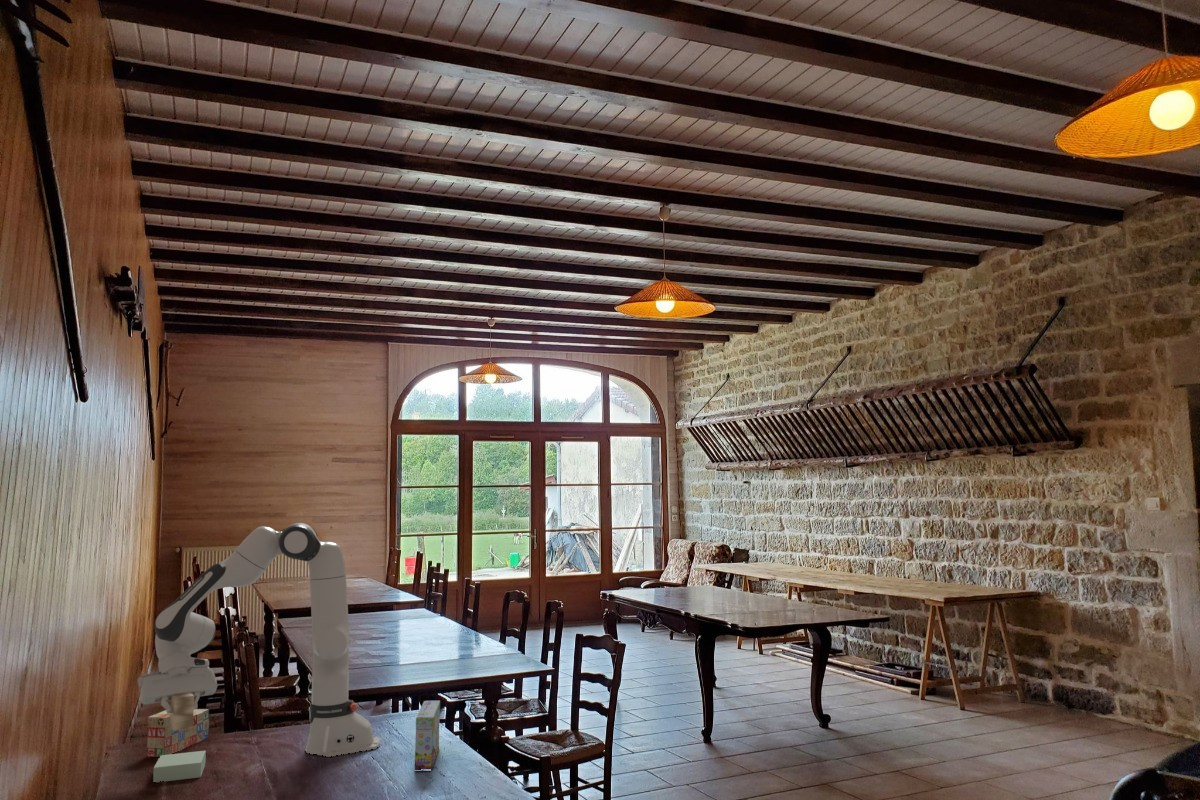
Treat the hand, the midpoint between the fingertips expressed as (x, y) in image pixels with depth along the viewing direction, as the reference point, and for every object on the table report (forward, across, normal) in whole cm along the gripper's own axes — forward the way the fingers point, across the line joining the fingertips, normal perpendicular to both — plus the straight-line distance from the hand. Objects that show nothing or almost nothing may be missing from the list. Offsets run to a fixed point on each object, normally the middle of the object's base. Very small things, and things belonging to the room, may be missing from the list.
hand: (182, 710), depth 241 cm
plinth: (+12, 0, +13) cm, 18 cm away
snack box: (+39, +59, -14) cm, 72 cm away
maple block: (+3, 0, +4) cm, 5 cm away
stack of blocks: (-8, +6, +33) cm, 35 cm away
